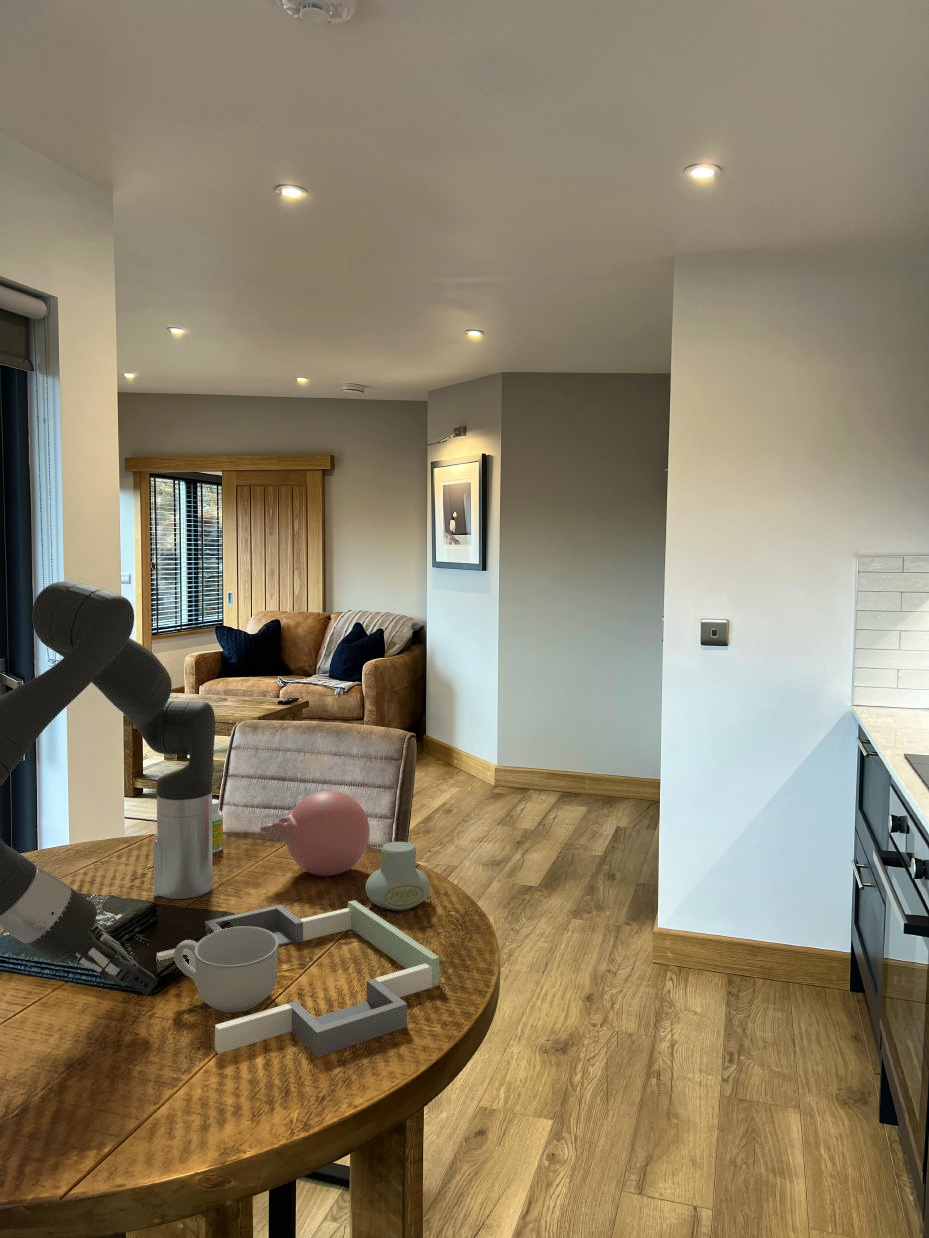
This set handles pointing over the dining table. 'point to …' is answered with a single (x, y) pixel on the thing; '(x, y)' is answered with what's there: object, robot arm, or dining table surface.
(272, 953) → the teacup
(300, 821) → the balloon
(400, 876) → the air freshener
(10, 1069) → the dining table surface
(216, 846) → the supplement bottle
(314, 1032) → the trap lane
